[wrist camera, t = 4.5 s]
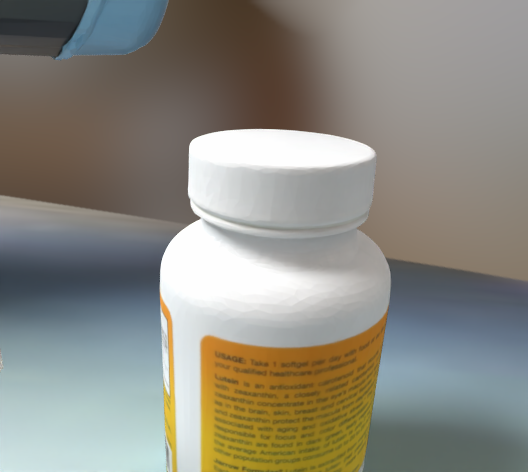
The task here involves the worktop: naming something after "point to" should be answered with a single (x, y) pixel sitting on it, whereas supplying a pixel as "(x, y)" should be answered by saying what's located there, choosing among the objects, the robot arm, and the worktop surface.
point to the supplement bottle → (273, 306)
